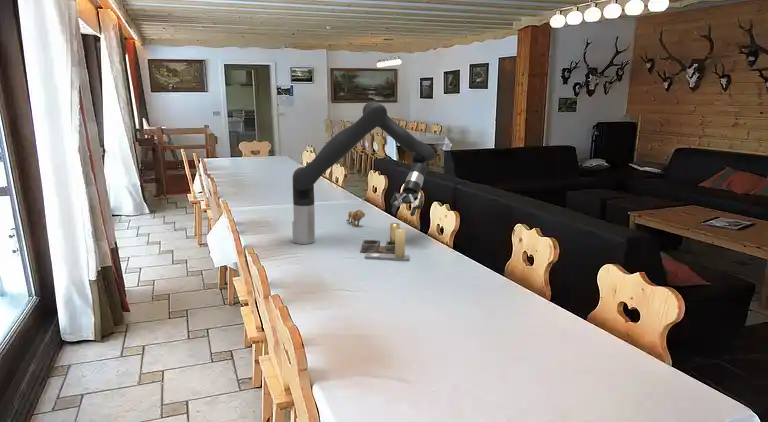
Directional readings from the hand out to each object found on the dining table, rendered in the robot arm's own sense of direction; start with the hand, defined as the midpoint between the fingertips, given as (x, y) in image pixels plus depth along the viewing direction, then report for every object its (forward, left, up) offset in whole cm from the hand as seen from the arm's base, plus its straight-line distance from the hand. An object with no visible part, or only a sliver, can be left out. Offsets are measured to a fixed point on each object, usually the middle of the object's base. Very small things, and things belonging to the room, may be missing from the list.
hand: (402, 214), depth 218 cm
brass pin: (-3, -7, -14) cm, 16 cm away
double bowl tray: (-8, -7, -15) cm, 18 cm away
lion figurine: (-26, +35, -15) cm, 46 cm away
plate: (-5, -16, -15) cm, 23 cm away
